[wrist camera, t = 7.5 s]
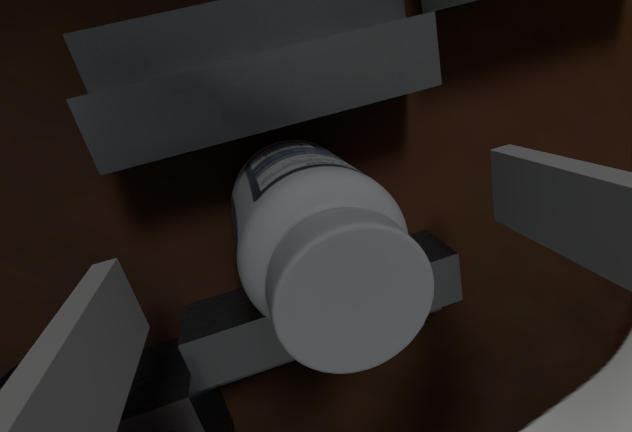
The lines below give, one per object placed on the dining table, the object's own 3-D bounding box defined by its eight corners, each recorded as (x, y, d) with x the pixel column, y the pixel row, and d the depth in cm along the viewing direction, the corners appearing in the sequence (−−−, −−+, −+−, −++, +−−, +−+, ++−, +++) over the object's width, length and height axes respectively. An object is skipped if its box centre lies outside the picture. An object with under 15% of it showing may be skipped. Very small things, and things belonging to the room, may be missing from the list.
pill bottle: (318, 267, 19) (393, 416, 10) (212, 230, 17) (203, 375, 9) (369, 167, 17) (498, 246, 9) (261, 116, 16) (305, 158, 8)
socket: (214, 379, 19) (213, 425, 17) (69, 36, 13) (32, 26, 11) (435, 303, 21) (465, 334, 18) (392, -36, 15) (428, -59, 12)
